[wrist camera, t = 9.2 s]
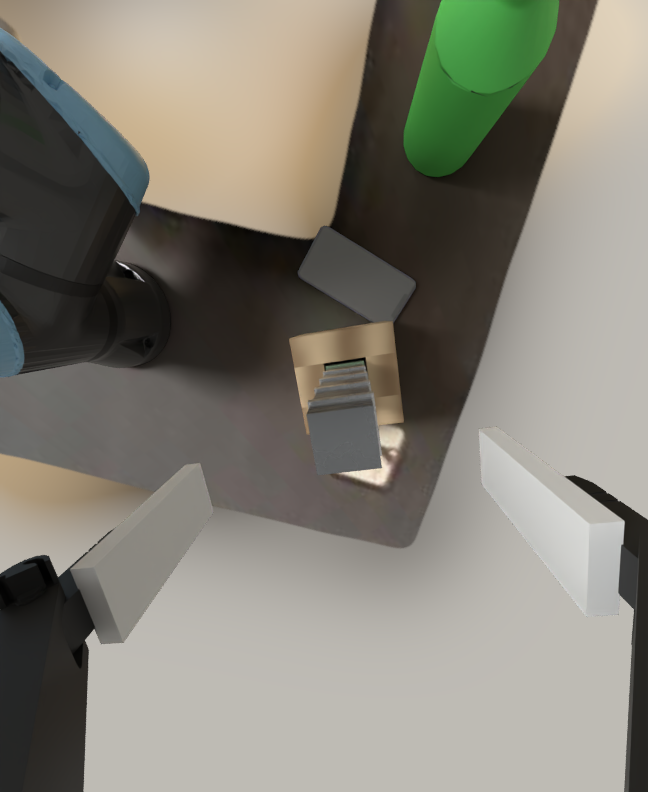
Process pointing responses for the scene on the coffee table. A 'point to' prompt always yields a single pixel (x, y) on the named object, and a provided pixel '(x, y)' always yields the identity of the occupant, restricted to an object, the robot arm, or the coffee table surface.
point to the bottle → (473, 76)
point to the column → (344, 420)
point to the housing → (345, 345)
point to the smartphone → (355, 277)
